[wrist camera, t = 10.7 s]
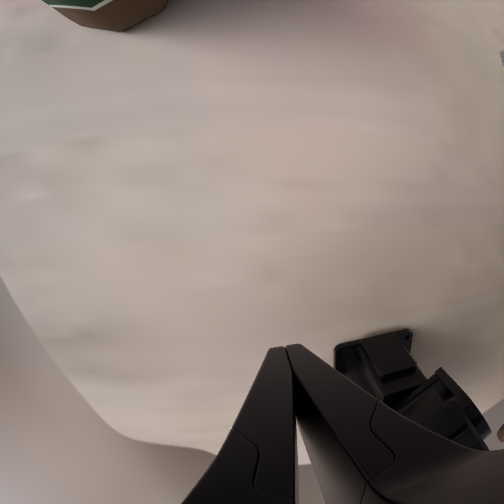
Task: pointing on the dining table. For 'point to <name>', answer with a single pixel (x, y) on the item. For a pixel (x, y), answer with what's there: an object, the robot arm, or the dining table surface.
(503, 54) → the box
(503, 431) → the dish
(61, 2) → the beer bottle
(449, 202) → the dining table surface
